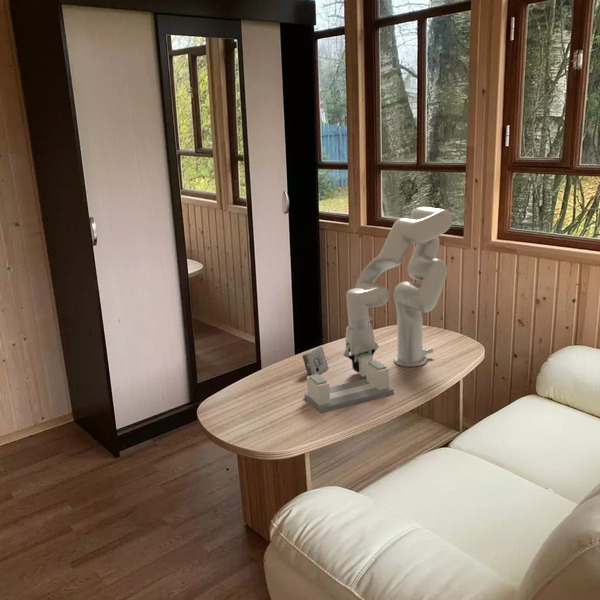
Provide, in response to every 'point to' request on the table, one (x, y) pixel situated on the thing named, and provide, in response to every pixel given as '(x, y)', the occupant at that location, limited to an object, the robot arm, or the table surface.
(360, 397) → the rail board
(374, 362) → the mounted modules
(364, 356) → the block
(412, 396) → the table surface
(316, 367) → the electrical switch
